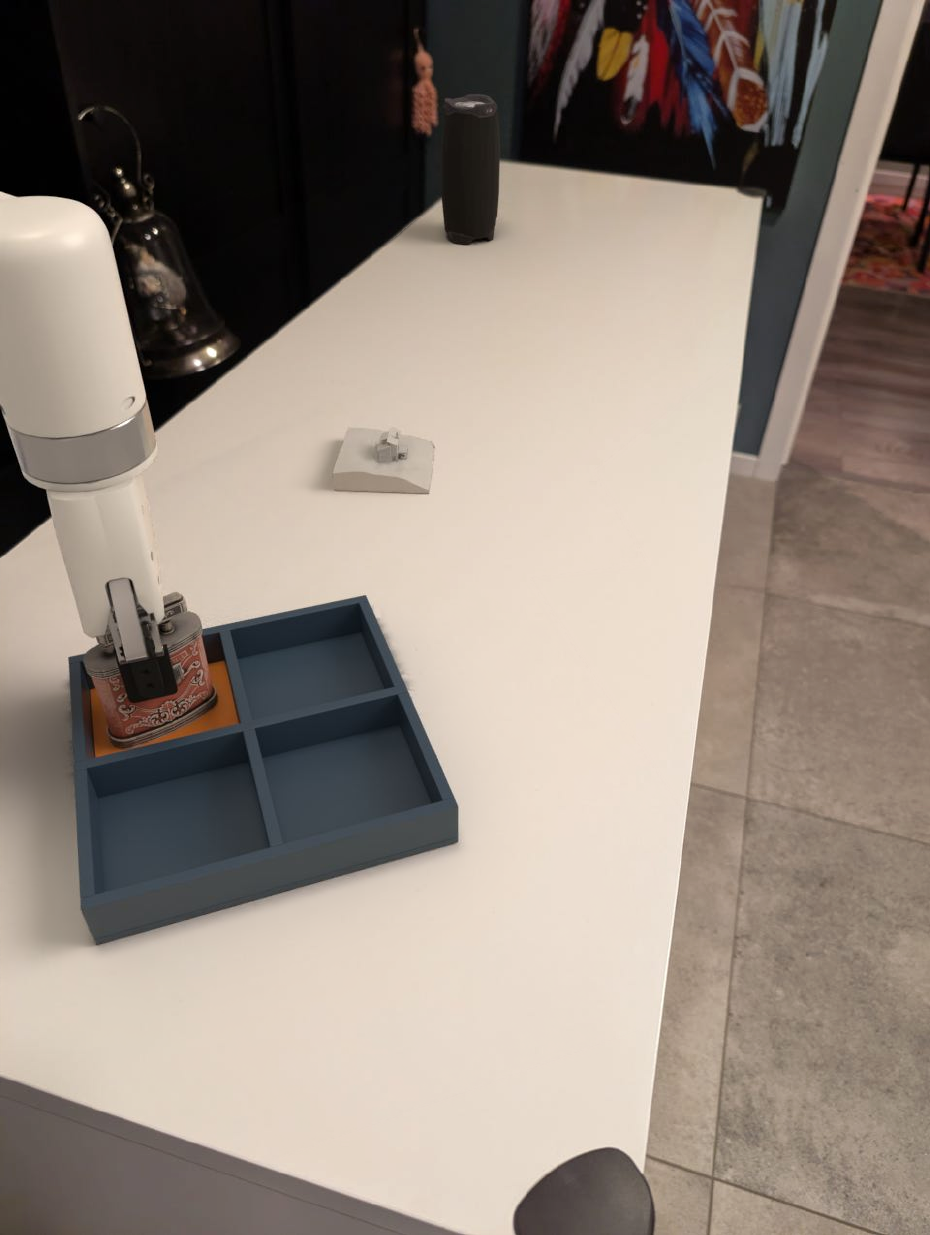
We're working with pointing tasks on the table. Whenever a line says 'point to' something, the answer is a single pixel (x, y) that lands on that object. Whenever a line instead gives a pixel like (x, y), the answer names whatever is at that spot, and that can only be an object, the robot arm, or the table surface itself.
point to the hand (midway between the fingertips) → (150, 669)
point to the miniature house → (383, 462)
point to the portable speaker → (470, 168)
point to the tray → (257, 776)
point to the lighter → (164, 713)
